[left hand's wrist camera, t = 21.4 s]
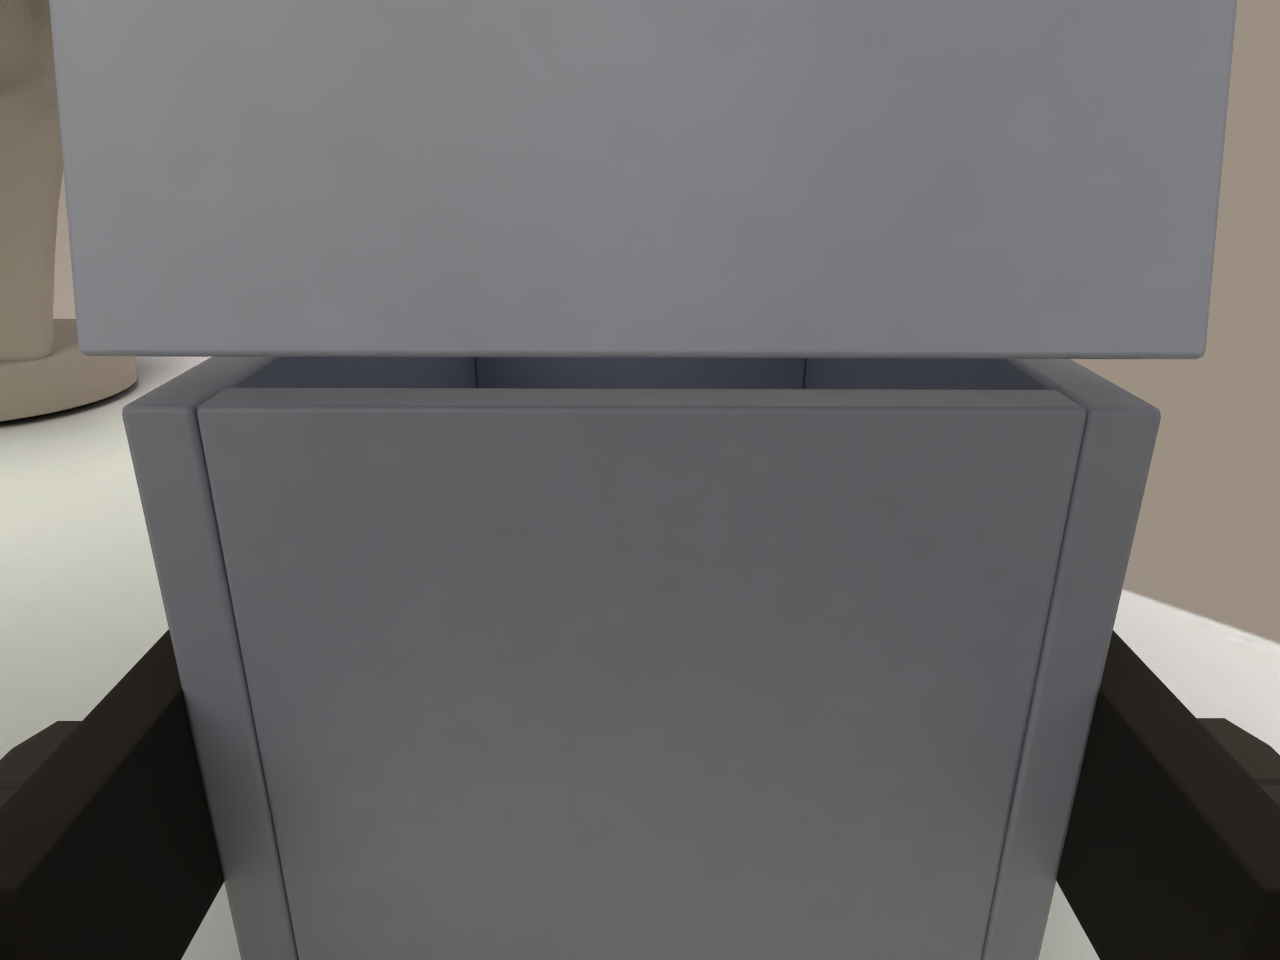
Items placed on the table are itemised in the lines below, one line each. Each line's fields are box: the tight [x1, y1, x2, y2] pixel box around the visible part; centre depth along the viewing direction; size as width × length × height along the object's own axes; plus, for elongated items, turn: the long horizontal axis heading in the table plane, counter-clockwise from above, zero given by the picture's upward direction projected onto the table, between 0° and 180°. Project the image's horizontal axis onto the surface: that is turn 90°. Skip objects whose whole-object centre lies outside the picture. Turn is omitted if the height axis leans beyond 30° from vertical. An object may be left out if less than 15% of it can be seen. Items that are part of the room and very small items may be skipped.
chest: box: [122, 356, 1161, 960], centre depth 18 cm, size 15×10×11 cm, turn 0°
